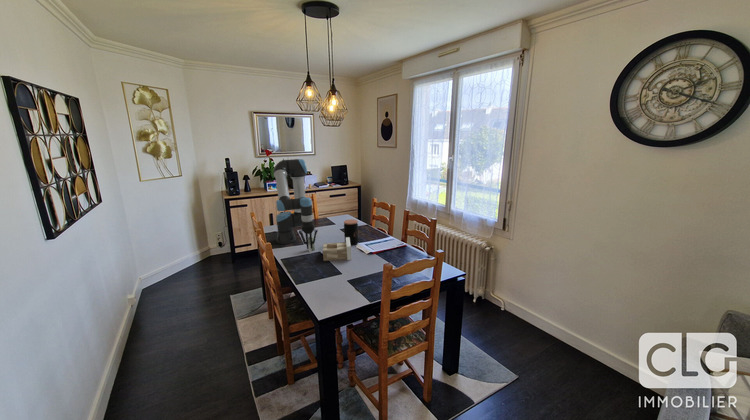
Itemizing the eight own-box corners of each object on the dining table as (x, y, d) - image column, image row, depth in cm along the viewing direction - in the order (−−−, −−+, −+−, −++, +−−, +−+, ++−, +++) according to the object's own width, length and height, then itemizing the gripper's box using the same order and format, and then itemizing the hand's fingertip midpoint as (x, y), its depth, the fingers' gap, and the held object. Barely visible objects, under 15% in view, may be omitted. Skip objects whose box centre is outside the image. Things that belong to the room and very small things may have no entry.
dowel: (309, 249, 217) (308, 236, 215) (314, 248, 218) (313, 236, 215) (309, 251, 214) (308, 238, 211) (314, 251, 214) (313, 238, 212)
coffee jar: (356, 246, 221) (355, 223, 216) (343, 245, 223) (341, 223, 219) (360, 241, 231) (359, 219, 227) (347, 240, 233) (346, 219, 229)
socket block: (324, 252, 210) (323, 243, 208) (346, 251, 212) (345, 242, 210) (323, 260, 197) (322, 251, 195) (347, 258, 199) (346, 249, 197)
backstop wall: (346, 250, 214) (345, 237, 212) (350, 249, 215) (349, 237, 212) (347, 260, 197) (346, 246, 194) (351, 260, 197) (350, 246, 195)
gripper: (296, 222, 191) (300, 255, 197) (316, 221, 193) (319, 254, 199) (298, 219, 198) (301, 251, 205) (317, 218, 200) (319, 250, 206)
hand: (310, 252), depth 202 cm, fingers closed
